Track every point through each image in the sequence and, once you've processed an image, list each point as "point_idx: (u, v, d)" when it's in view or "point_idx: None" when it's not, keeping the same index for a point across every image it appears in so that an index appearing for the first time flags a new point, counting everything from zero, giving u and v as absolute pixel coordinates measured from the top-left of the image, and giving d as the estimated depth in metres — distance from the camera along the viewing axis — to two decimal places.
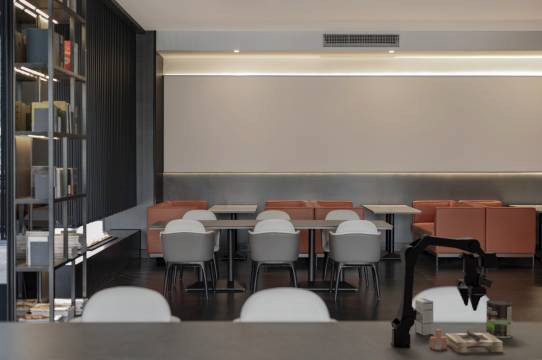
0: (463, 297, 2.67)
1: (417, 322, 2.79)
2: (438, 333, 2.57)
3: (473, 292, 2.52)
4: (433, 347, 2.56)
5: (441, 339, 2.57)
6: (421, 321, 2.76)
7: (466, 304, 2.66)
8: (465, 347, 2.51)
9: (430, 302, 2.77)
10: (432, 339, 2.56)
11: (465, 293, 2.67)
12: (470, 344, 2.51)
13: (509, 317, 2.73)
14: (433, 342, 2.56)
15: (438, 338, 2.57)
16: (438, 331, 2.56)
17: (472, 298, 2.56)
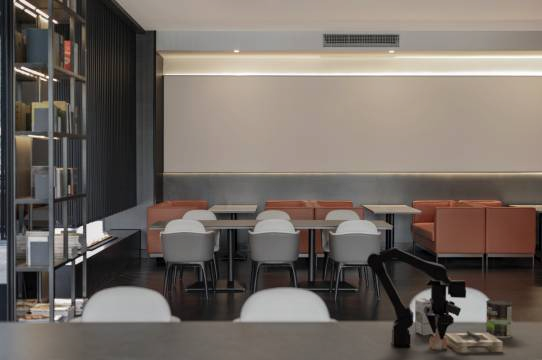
0: (431, 324, 2.62)
1: (417, 322, 2.79)
2: (438, 333, 2.57)
3: (440, 321, 2.48)
4: (433, 347, 2.56)
5: (441, 339, 2.57)
6: (421, 321, 2.76)
7: (434, 332, 2.62)
8: (465, 347, 2.51)
9: (430, 302, 2.77)
10: (432, 339, 2.56)
11: (433, 320, 2.62)
12: (470, 344, 2.51)
13: (509, 317, 2.73)
14: (433, 342, 2.56)
15: (438, 338, 2.57)
16: None
17: (439, 327, 2.51)
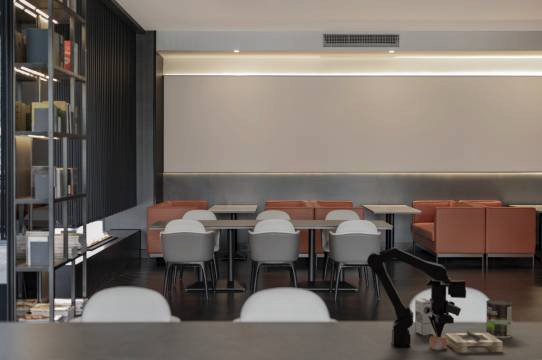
0: (434, 327, 2.58)
1: (417, 322, 2.79)
2: None
3: (440, 321, 2.48)
4: (433, 347, 2.56)
5: (441, 339, 2.57)
6: (421, 321, 2.76)
7: None
8: (465, 347, 2.51)
9: (430, 302, 2.77)
10: (432, 339, 2.56)
11: None
12: (470, 344, 2.51)
13: (509, 317, 2.73)
14: (433, 342, 2.56)
15: (438, 338, 2.57)
16: None
17: (436, 324, 2.55)
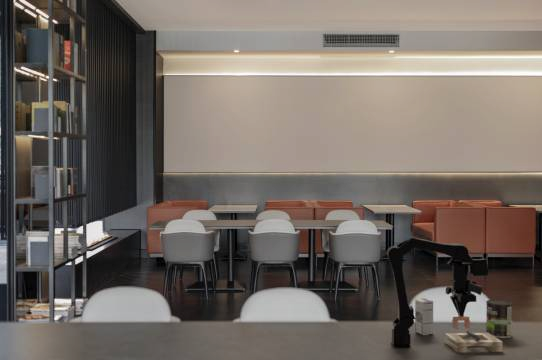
0: (456, 306, 2.58)
1: (417, 322, 2.79)
2: None
3: (462, 300, 2.48)
4: (456, 327, 2.56)
5: (464, 319, 2.57)
6: (421, 321, 2.76)
7: None
8: (465, 347, 2.51)
9: (430, 302, 2.77)
10: (455, 319, 2.57)
11: None
12: (470, 344, 2.51)
13: (509, 317, 2.73)
14: (456, 322, 2.56)
15: (461, 318, 2.57)
16: None
17: (458, 304, 2.55)
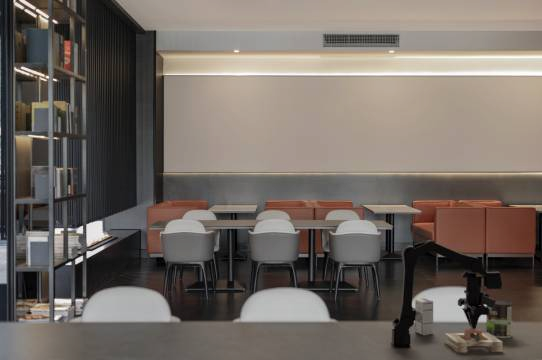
0: (469, 319, 2.59)
1: (417, 322, 2.79)
2: None
3: (476, 312, 2.49)
4: None
5: (476, 332, 2.57)
6: (421, 321, 2.76)
7: None
8: (465, 347, 2.51)
9: (430, 302, 2.77)
10: (467, 332, 2.57)
11: None
12: (470, 344, 2.51)
13: (509, 317, 2.73)
14: (468, 335, 2.57)
15: (473, 331, 2.57)
16: None
17: (471, 316, 2.55)
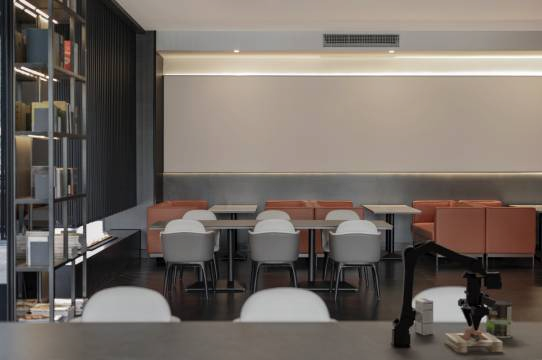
0: (467, 318, 2.61)
1: (417, 322, 2.79)
2: None
3: (476, 313, 2.49)
4: (467, 339, 2.57)
5: (476, 333, 2.57)
6: (421, 321, 2.76)
7: (470, 325, 2.61)
8: (465, 347, 2.51)
9: (430, 302, 2.77)
10: (468, 331, 2.57)
11: (469, 313, 2.62)
12: (470, 344, 2.51)
13: (509, 317, 2.73)
14: (468, 334, 2.57)
15: (474, 331, 2.57)
16: None
17: (473, 318, 2.53)
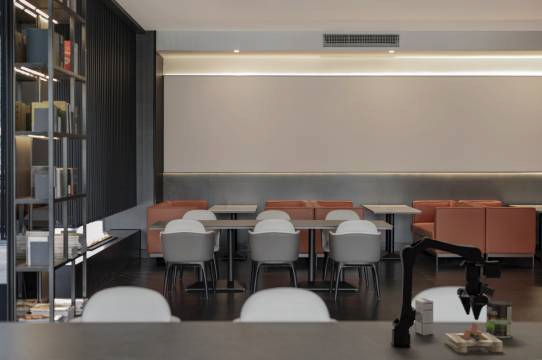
0: (465, 306, 2.63)
1: (417, 322, 2.79)
2: (475, 326, 2.57)
3: (475, 301, 2.49)
4: (467, 339, 2.57)
5: (476, 333, 2.57)
6: (421, 321, 2.76)
7: (468, 313, 2.63)
8: (465, 347, 2.51)
9: (430, 302, 2.77)
10: (468, 331, 2.57)
11: (467, 302, 2.63)
12: (470, 344, 2.51)
13: (509, 317, 2.73)
14: (468, 334, 2.57)
15: (474, 331, 2.57)
16: (475, 324, 2.57)
17: (474, 307, 2.52)
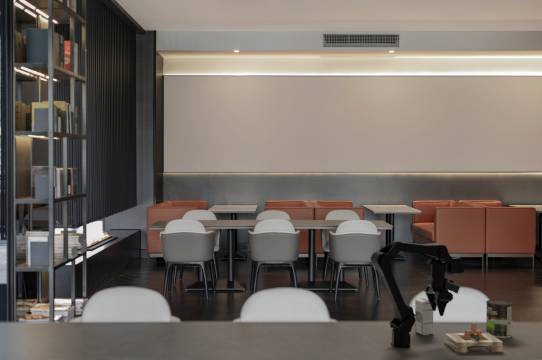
0: (431, 302, 2.69)
1: (417, 322, 2.79)
2: (473, 326, 2.57)
3: (439, 298, 2.55)
4: None
5: (476, 332, 2.57)
6: (421, 321, 2.76)
7: (434, 309, 2.69)
8: (465, 347, 2.51)
9: None
10: (467, 332, 2.57)
11: (433, 298, 2.69)
12: (470, 344, 2.51)
13: (509, 317, 2.73)
14: (468, 335, 2.57)
15: (473, 331, 2.57)
16: (473, 324, 2.57)
17: (439, 303, 2.58)
